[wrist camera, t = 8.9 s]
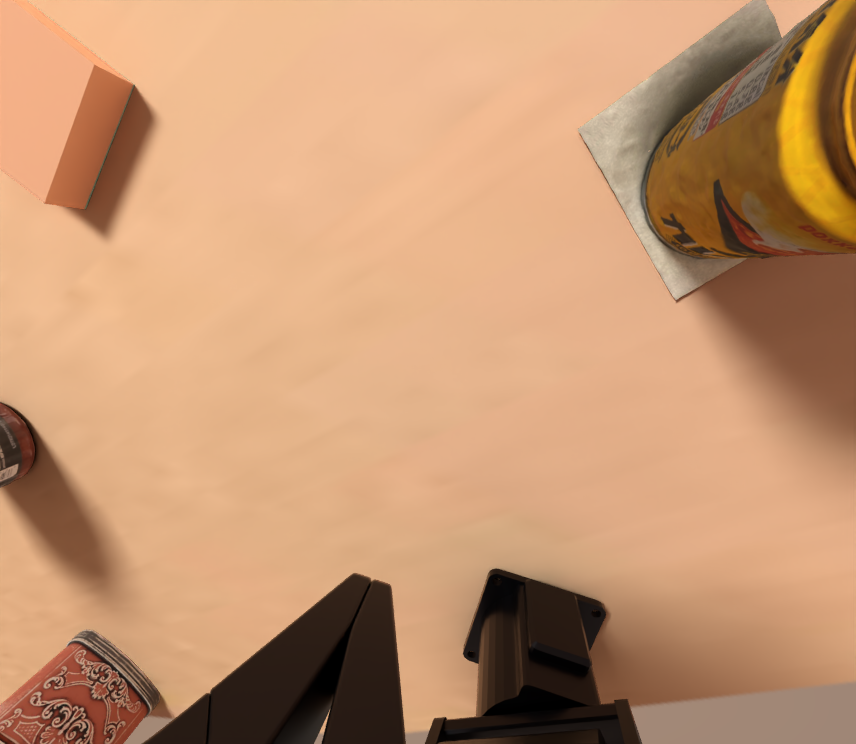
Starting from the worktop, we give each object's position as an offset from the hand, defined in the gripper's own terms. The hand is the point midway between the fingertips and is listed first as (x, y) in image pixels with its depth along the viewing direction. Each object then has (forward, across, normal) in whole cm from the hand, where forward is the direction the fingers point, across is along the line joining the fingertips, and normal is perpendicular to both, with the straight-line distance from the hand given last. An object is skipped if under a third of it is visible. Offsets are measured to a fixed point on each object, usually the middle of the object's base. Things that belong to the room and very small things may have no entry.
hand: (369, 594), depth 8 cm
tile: (+12, +20, -8) cm, 25 cm away
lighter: (+13, +19, +28) cm, 36 cm away
